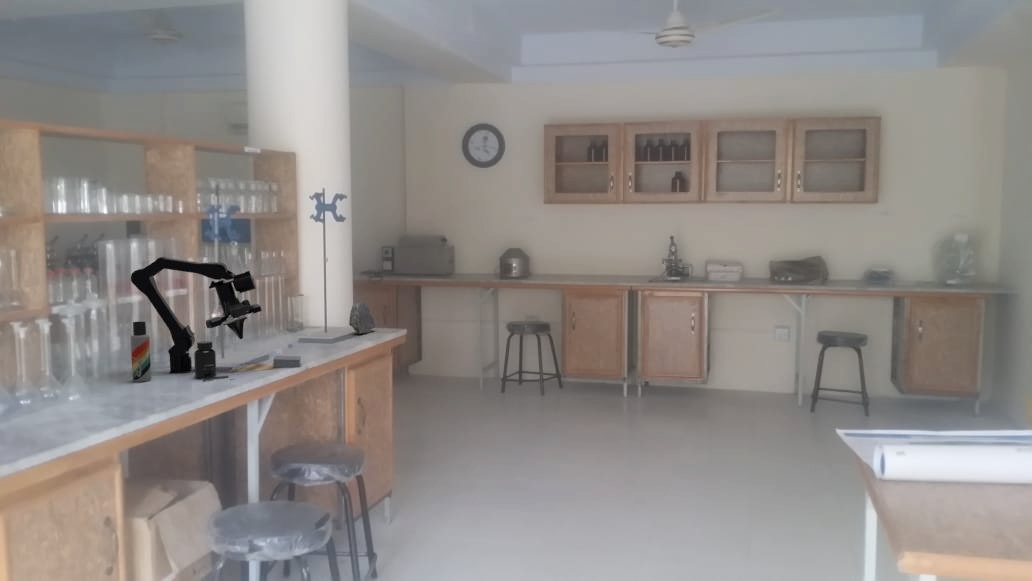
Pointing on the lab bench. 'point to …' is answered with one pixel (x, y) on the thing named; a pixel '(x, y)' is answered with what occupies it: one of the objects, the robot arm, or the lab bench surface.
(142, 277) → the robot arm
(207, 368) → the supplement bottle
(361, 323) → the decorative rock
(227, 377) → the metal turner
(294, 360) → the thick grey slab block
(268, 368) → the cork mat
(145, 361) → the lotion bottle
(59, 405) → the lab bench surface
